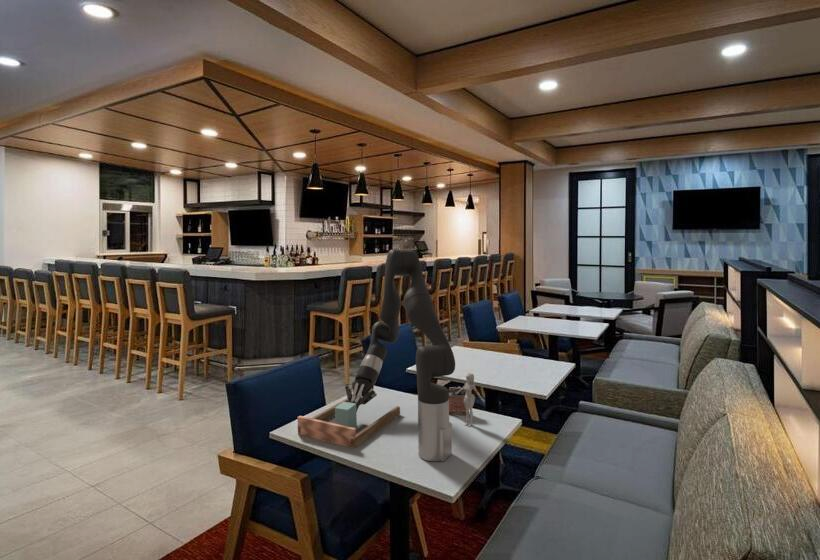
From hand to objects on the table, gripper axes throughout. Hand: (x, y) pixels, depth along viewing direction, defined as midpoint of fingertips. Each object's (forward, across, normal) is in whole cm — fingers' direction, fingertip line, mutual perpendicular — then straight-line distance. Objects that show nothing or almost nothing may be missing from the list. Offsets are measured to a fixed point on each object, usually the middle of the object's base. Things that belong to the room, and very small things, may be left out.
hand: (351, 413), depth 161 cm
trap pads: (+5, 0, 0) cm, 5 cm away
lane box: (+3, 0, +2) cm, 4 cm away
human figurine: (-10, +37, +16) cm, 41 cm away
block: (+5, 0, 0) cm, 5 cm away
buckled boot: (-15, +30, +20) cm, 39 cm away
